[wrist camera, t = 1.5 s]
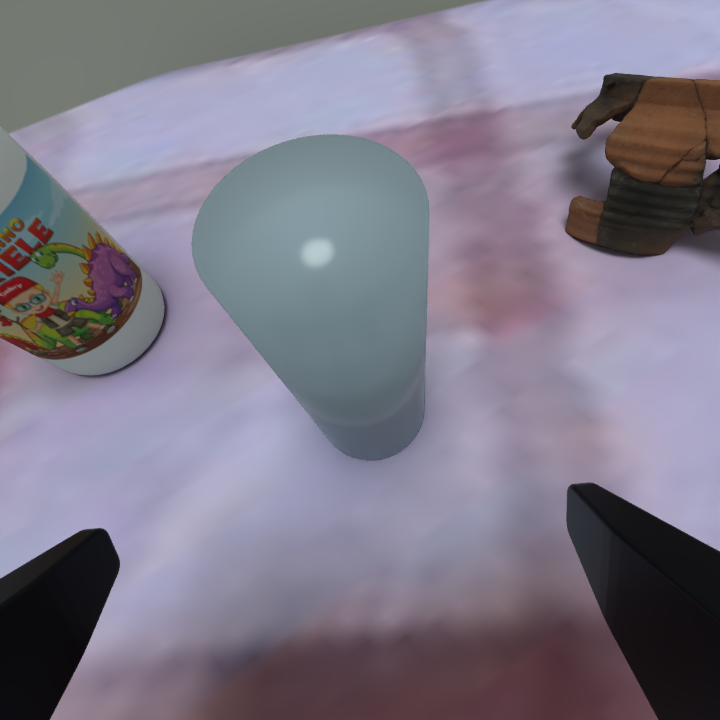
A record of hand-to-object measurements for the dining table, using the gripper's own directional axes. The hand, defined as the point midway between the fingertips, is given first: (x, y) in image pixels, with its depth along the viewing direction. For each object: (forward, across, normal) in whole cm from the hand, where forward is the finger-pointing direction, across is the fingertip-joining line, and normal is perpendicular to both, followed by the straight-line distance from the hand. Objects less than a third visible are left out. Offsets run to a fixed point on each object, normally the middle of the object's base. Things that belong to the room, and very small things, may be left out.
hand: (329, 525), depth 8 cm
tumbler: (+14, 0, +4) cm, 14 cm away
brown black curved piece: (+22, -18, -3) cm, 28 cm away
